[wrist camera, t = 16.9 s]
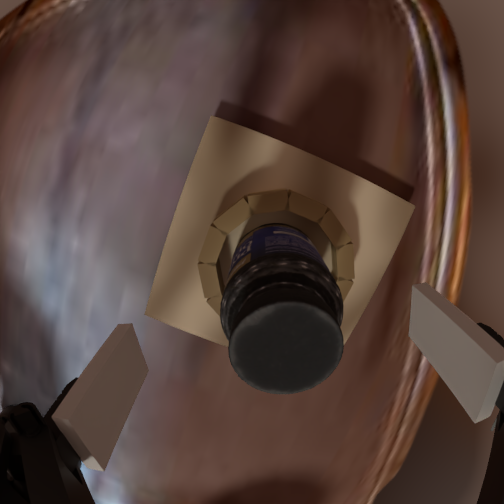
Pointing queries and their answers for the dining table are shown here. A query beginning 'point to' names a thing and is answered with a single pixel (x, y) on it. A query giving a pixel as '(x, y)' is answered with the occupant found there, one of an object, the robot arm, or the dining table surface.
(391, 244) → the square socket plate
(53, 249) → the dining table surface
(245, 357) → the pill bottle
